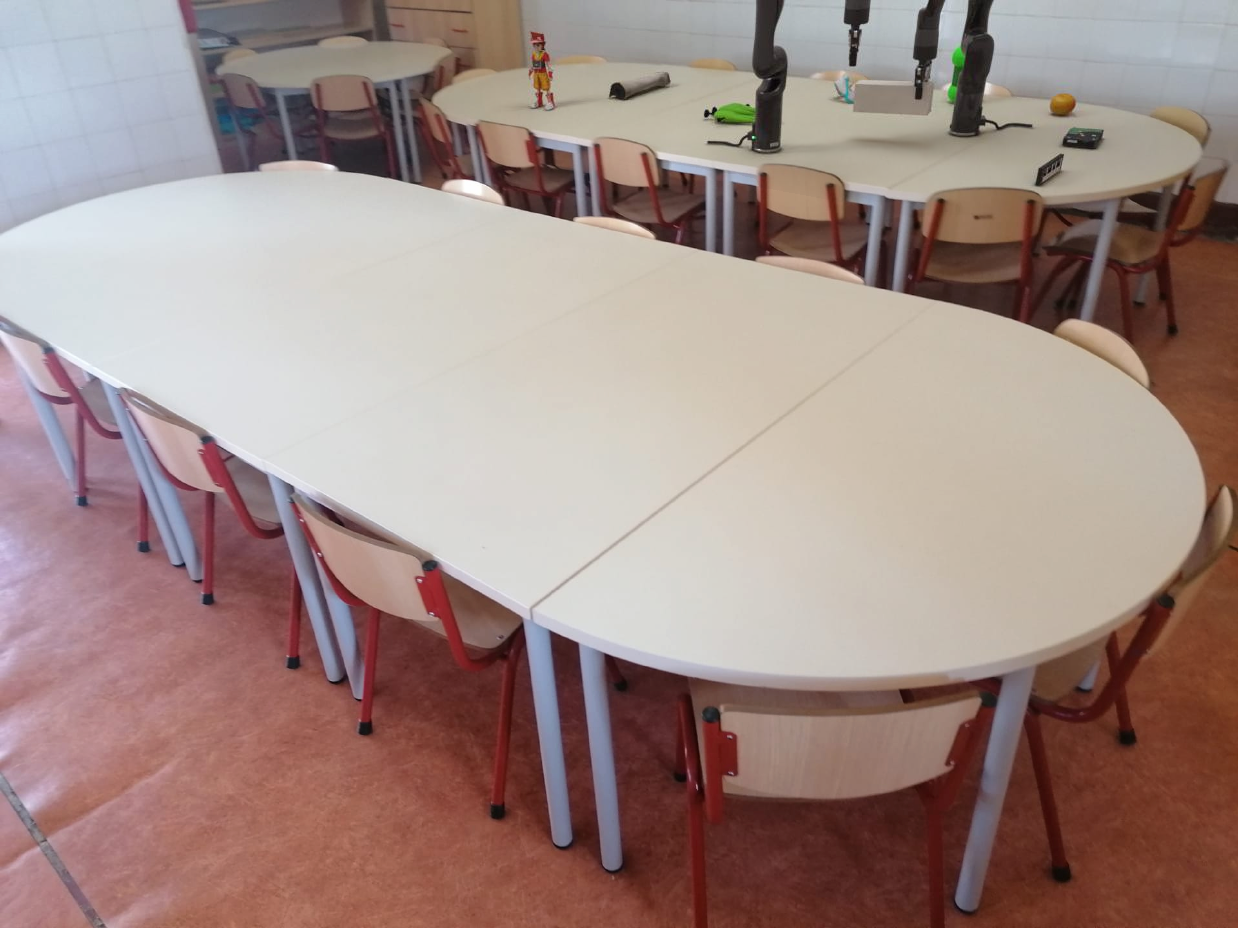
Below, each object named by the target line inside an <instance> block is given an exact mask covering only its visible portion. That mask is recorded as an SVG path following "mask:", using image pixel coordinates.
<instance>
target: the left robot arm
mask: <svg viewBox="0 0 1238 928" xmlns="http://www.w3.org/2000/svg"><path fill="white" fill-rule="evenodd" d="M785 1H786V0H755V25H754V27H755V28H754V39H753V49H752V56H751V57H752V58H751V68H752V71H753V74H754V75H755V76H756V78H758V79H760V80H762V81H761V83H760V84H759V86H758V87H757V88H756V90H755V99H754V103H755V105H754V108H755V115H754V116H755V121H753V122H752V123H751V130H750V131H748V132H747V134H745V135H743V136H742V137H741V138H740V140H739V142H738V143H733V142H729V141H726V140H725V141H723V140H707V141H706V143H707V145H708V144H709V145H727V146H730V147H735V148H738V147H740V146H742V144H743V142H744V140H745V139H747V141H750V142H751V149H750V150H751V151H754V152H757V153H761V154H772V153H777V152H779V151H781V148H782V145H781V144H782V143H781V141H782V124H783V123H782V122H783V103H784V101H783V100H784V92H785V90H786V86H787V78H788V68H789V67H788V65H789V59H788V54H787V52H786V50H785V48H783V47H782V46H780V45H775V34H776V29H777V26H778V23H779V21H780V19H781V16H782V12H783V10H784V6H785ZM871 1H872V0H844V12H843V24H845V25H848V26H850V29H848V33H847V35H848V48H849V51H848V66H849V67H853V68H854V67H857V63H858V61H857V60H858V53H859V51H860V49H859V47H860V46H861V38H862V35H863V28H860V27H861V25H866V24H868V23H869V21H870V13H871Z"/></svg>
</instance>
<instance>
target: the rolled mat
mask: <svg viewBox="0 0 1238 928" xmlns="http://www.w3.org/2000/svg"><path fill="white" fill-rule="evenodd" d="M671 83H672V81H671V77H670V74H669V72H668V71H658V72H654V73H649V74H645V75H640V76H637V77H633V78H628V79H623V80H620V81H616V82H613V83H612V84H611V85H610V89H609V95H608V97H609V98H611V97H616V99H620V100H622V101H623V100H626V99H627V98H629V97H630V96H632V95H635V94H636V93H638V92H640V91H643V90H644V89H647V88H650V87H655V86H658V87H659V86H661V87H665V86H669V85H670V84H671Z"/></svg>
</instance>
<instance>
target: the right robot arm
mask: <svg viewBox="0 0 1238 928" xmlns="http://www.w3.org/2000/svg"><path fill="white" fill-rule="evenodd" d="M994 1H995V0H967V12H966V18H965V24H964V28H963V32H962V36H961V41H960V45H961V51H962V53H963V55H964V56H965V60H964V66H963V70H962V72H960V74H959V77H958V83H957V90H956V96H955V103H953V110H952V115H951V123H950V125H949V134H950V135H952V136H956V137H973V136H979V131H980V127H985V126H986V123H987V124H991V125H994V127H995V129H996V130H998V131H999V130H1003V129H1004V128H1007V127H1024V128H1033V124H1031V123H1021V122H1008V123H1005V124H1003V125H1001V126H999V124H998V123H997V122H996V121H994V120H992V119H987V118H986V116H985V114H984V115H983V109H984V107H983V102H984V96H985V90H986V83H987V79H988V76H989V74H990V73H991V72H990V71H991V69H992V63H993V58H994V54H995V40H994V38H993V36H992V35H991V34H990V33H989V32H988V28H989V18H990V12H991V9H992V6H993V4H994ZM945 2H946V0H927V4H926V6H925V7H922V8H920V9H919V11H918V13H917V17H916V18H917V19H916V28H915V35H914V42H913V51H912V59H913V60H915V61H918V64H917V65H916V68H915V69H914V81H915V82H914V87H915V88H916V92H915V99H916V100H921V99H922V93H923V87H924V82H930V79H931V71H932V64H933V61H934V60H935V59H937V56H938V49H939V38H940V22H941V14H942V11H943V8H944V6H945ZM918 82H921V83H918Z"/></svg>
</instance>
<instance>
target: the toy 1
mask: <svg viewBox="0 0 1238 928" xmlns="http://www.w3.org/2000/svg"><path fill="white" fill-rule="evenodd" d="M529 33H530V35H531V36H528V37H527V38H528V39H529V40H528V41H527V43H529V44H530V43H531V44H532V48H533V50H534V51H533V52H532V55H531V58H530V59H531V63H530V66H528V74H527V75H528V76H527V77H528V79H529V80H531V75H532V74H533V84H532V85H533V86H532V87H533V88H534V89H535V90H536V92H534V95H535V97H536V100H535V101H533V102H531V105H530V108H531V109H535V108H538V107H542V106H544V101H543V100H544V99H543V95H544V92H546V94H545V97H546V99H547V103H546V104H545V106H544V110H546V111H549V110H553V109H554V107H555V106H556V105H555V99H554V92H551V91H550V90H551V86H552V84H551V82H552V81H553V80H554V77H553V73H554V71H555V70H554V69H552V68H551V63H550V61H551V59H550V58H551V57H550V54H549V53H548V52H547V50H546V48H545V46H546V44H547V41H545V35H544V33H543V32H542V33H539V32H535V31H529Z"/></svg>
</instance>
